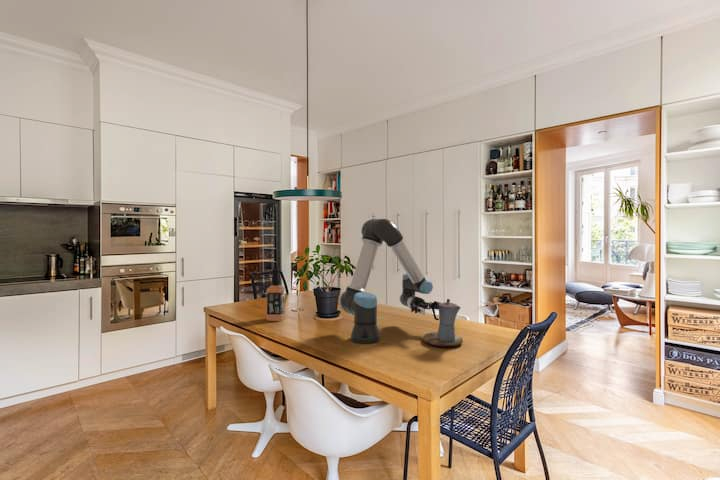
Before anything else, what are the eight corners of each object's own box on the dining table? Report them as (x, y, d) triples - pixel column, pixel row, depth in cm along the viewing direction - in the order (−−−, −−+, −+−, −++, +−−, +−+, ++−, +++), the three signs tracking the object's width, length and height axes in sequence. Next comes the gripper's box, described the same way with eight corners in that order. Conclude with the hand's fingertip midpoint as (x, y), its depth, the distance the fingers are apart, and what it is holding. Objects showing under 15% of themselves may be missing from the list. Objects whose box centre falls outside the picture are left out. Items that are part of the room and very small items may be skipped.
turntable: (415, 339, 188) (415, 336, 188) (439, 332, 200) (439, 330, 200) (446, 348, 174) (446, 345, 174) (470, 340, 186) (470, 338, 186)
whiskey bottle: (281, 321, 230) (281, 269, 229) (265, 321, 230) (265, 269, 229) (285, 317, 240) (285, 267, 239) (270, 317, 240) (269, 267, 239)
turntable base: (422, 342, 188) (422, 340, 188) (440, 337, 197) (440, 335, 197) (445, 349, 177) (445, 346, 177) (463, 343, 186) (463, 341, 186)
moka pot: (457, 344, 175) (457, 302, 175) (426, 339, 184) (426, 298, 183) (463, 339, 183) (464, 298, 183) (434, 334, 192) (434, 295, 191)
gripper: (435, 308, 217) (456, 316, 197) (396, 311, 209) (414, 320, 189) (435, 295, 217) (456, 302, 197) (396, 298, 208) (414, 305, 188)
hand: (436, 311), depth 193 cm, fingers open, 13 cm apart
